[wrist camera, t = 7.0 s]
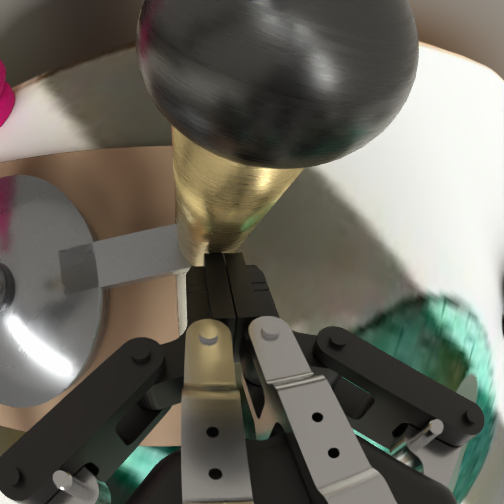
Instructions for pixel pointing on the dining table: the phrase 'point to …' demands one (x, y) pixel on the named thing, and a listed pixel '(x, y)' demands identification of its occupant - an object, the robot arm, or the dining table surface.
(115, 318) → the stand
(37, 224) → the turntable
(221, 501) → the robot arm
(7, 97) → the pepper mill
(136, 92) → the dining table surface
